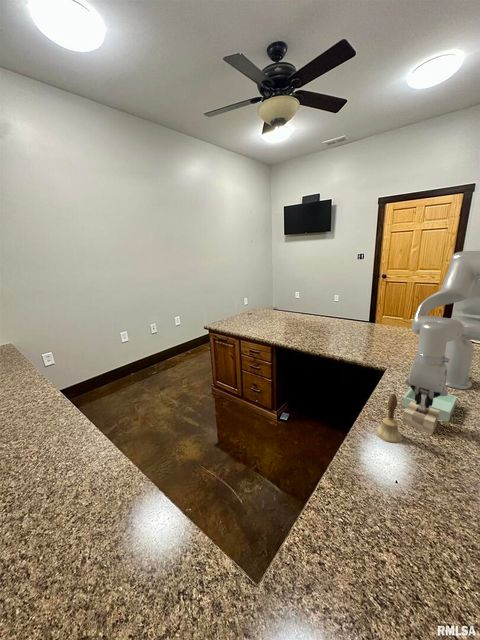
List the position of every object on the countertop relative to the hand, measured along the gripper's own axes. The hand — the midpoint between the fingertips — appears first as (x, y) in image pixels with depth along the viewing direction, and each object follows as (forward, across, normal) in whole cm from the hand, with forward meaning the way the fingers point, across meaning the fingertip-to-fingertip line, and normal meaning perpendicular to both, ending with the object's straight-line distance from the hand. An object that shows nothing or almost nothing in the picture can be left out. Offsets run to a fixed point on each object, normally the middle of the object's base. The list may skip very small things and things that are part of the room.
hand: (423, 404), depth 92 cm
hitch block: (+8, 0, 0) cm, 8 cm away
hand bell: (+8, +6, +14) cm, 17 cm away
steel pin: (+7, 0, 0) cm, 7 cm away
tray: (+8, 0, -14) cm, 16 cm away
